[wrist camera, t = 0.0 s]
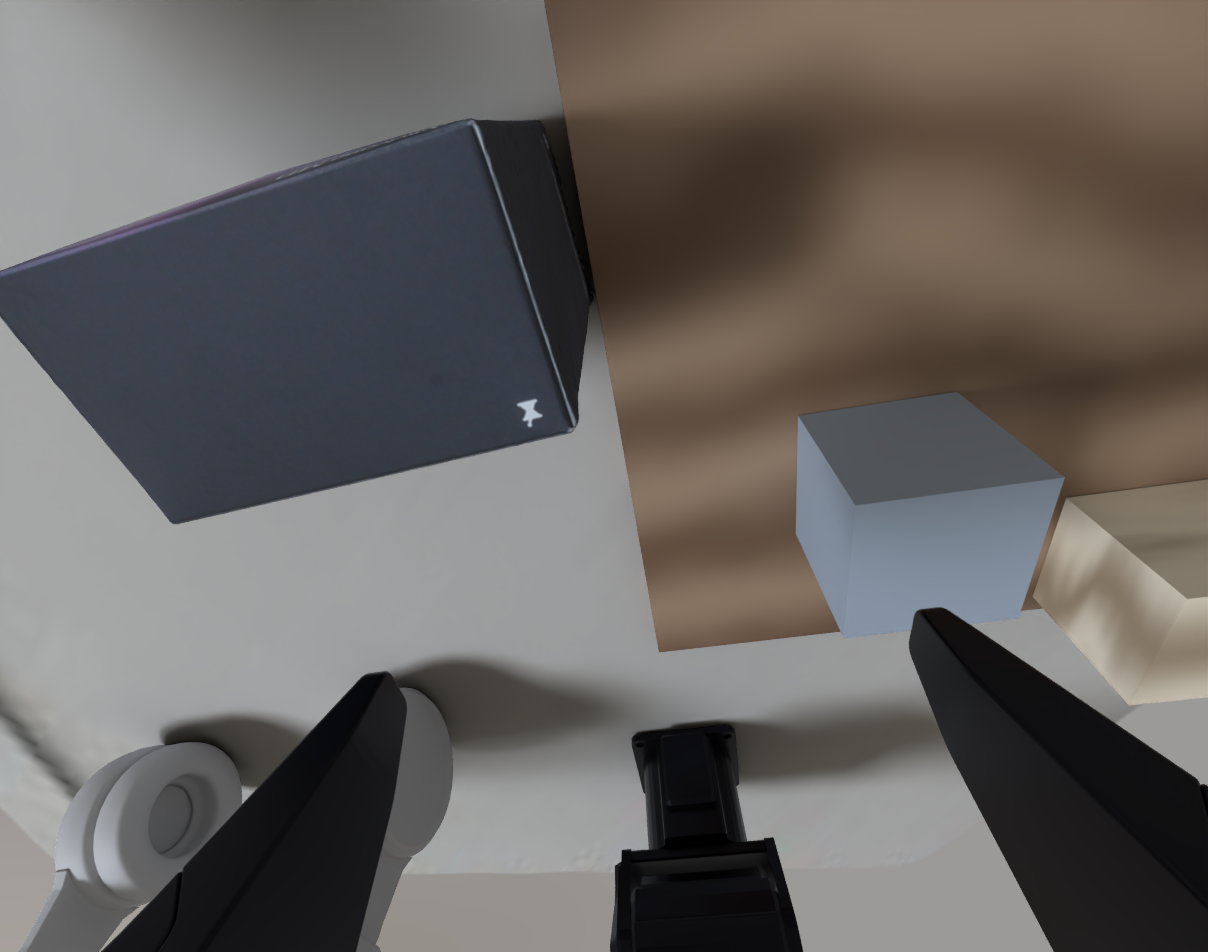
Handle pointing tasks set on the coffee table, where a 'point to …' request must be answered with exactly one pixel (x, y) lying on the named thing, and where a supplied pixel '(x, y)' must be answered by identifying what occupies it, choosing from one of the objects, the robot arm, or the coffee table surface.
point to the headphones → (208, 830)
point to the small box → (322, 320)
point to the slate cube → (919, 512)
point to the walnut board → (882, 254)
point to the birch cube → (1135, 588)
